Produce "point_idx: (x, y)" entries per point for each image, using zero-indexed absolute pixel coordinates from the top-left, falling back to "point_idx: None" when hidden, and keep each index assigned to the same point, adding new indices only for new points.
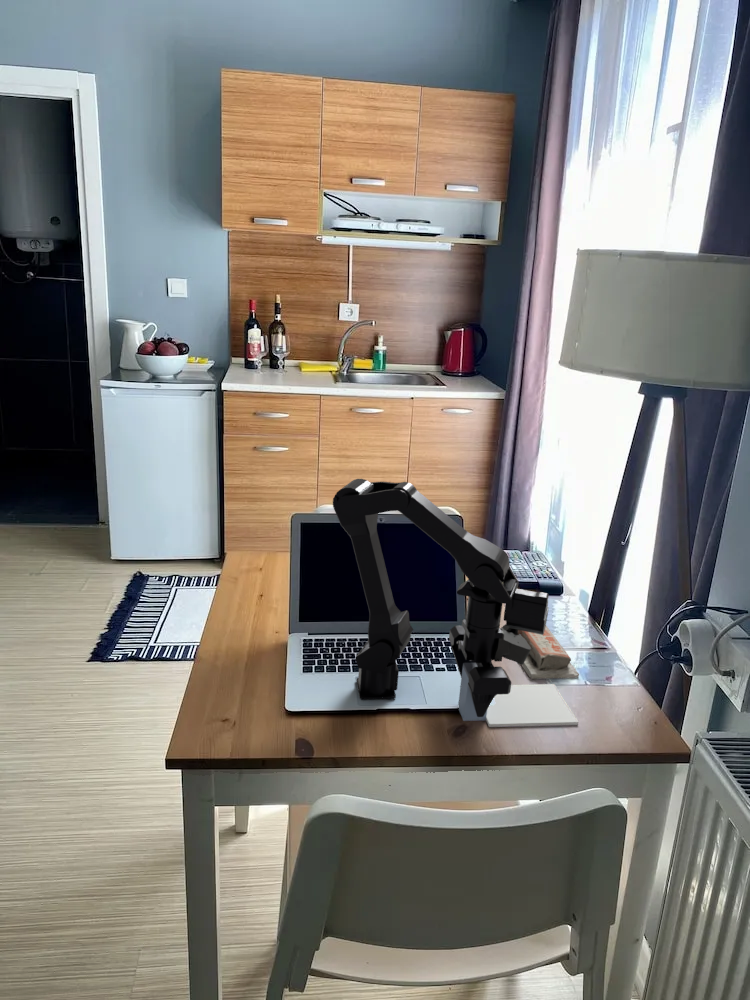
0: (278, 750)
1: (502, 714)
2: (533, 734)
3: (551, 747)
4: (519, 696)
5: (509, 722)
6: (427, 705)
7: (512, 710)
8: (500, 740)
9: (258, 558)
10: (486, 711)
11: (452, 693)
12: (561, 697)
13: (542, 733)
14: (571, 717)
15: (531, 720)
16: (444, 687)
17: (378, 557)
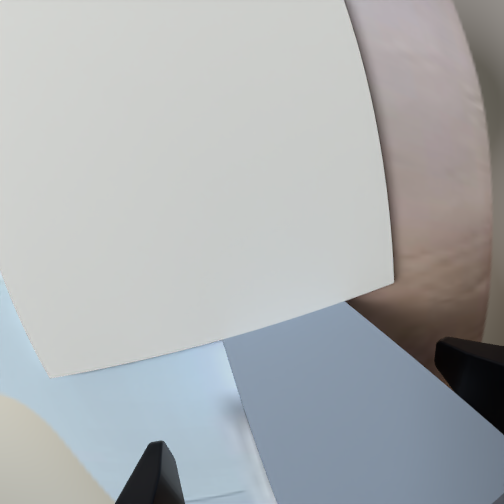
0: None
1: (312, 210)
2: (405, 72)
3: (453, 37)
4: (79, 87)
5: (376, 176)
6: (254, 487)
7: (257, 140)
8: (451, 228)
9: None
10: (361, 318)
11: (136, 439)
12: None
13: (389, 30)
14: None
15: (338, 49)
16: (104, 460)
17: None
